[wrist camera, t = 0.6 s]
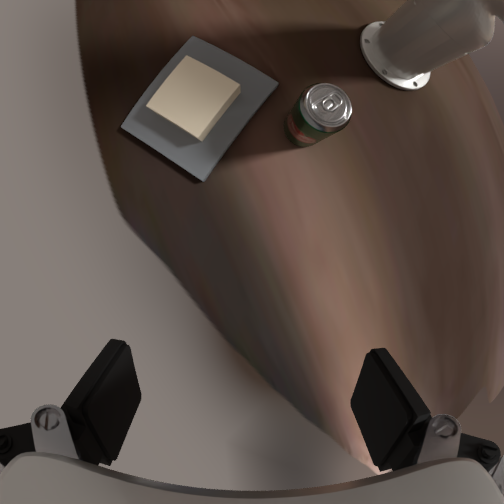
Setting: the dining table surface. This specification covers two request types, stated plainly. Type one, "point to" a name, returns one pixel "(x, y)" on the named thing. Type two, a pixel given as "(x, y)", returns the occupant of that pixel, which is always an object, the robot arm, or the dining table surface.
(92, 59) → the dining table surface
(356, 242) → the dining table surface
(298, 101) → the soda can
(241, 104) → the build base
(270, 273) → the dining table surface
